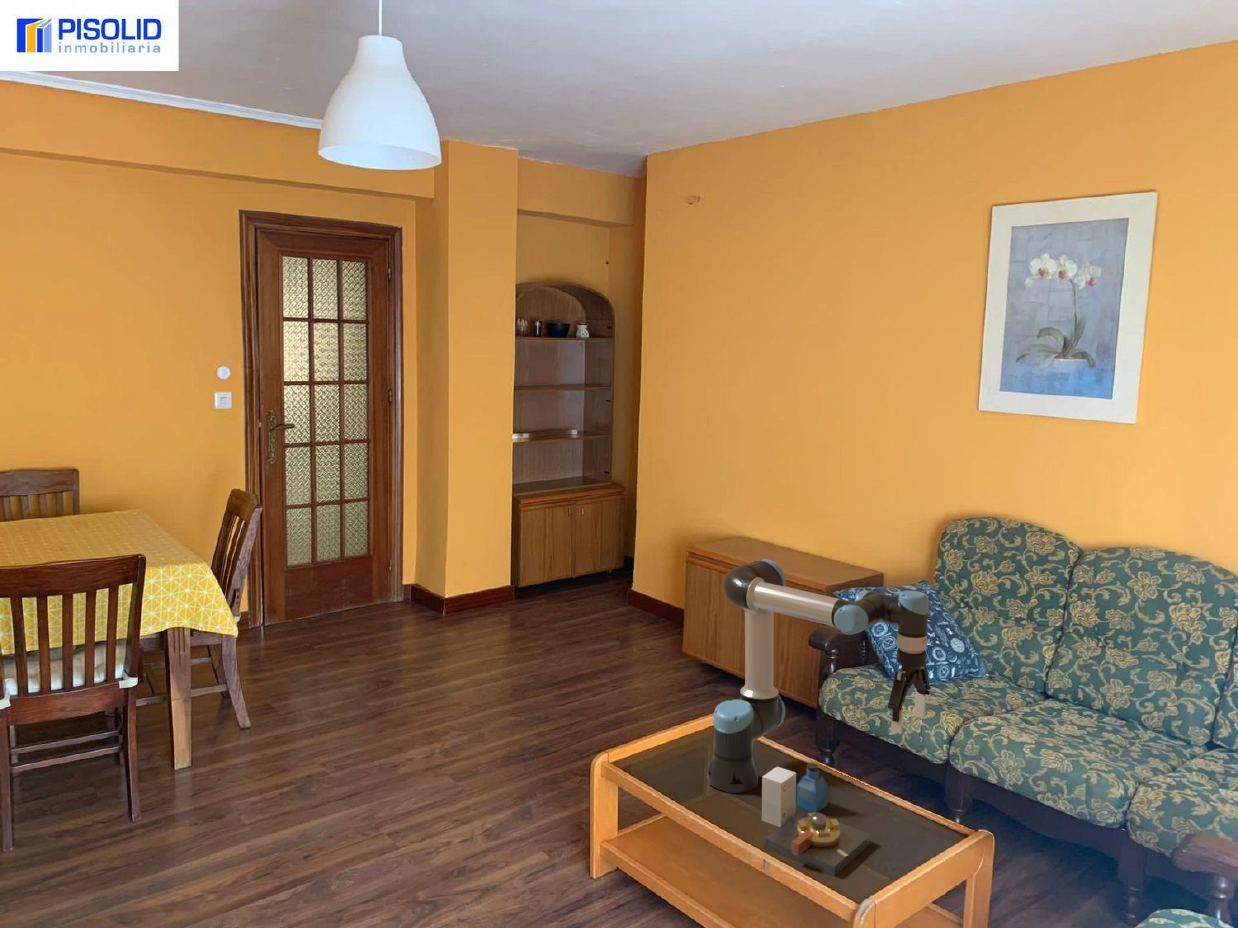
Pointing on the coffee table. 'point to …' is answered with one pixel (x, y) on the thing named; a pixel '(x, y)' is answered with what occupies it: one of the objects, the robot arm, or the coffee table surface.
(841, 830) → the flange plate
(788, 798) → the small box
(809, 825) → the gold tabbed disc
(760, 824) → the coffee table surface
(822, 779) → the perfume bottle
